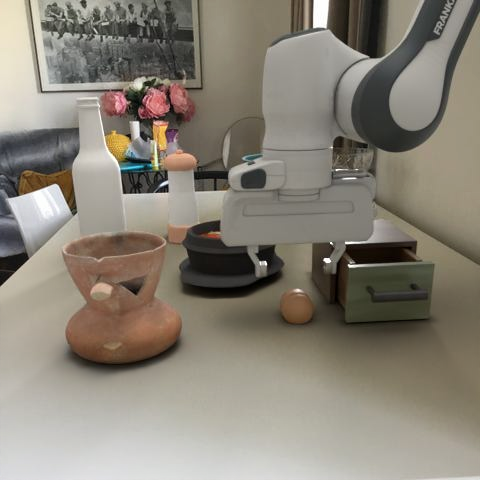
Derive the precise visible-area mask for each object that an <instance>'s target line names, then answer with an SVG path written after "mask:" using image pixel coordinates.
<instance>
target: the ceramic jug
mask: <svg viewBox="0 0 480 480" xmlns="http://www.w3.org/2000/svg"><path fill="white" fill-rule="evenodd" d="M166 253H167V240H166V239H165V238H164V237H163V236H161V235H158V234H155V233H151V232H148V231H141V230H137V231H136V230H127V231H115V232H107V233H105V232H102V233H97V234H93V235H87V236H83V237H81V236H80V237H78V238H75V239H71V240H70V241H68V242H66V243H65V244H64V245H63V246H61V254H62V258H63V261H64V265H65V267H66V269H67V271H68V273H69V276H70V278H71V280H72V281H73V283H74V285H75V286H76V288H77V290H78V291H79V292H80V295H81V297H83V298H84V300H85V302H86V303H85V304H84V305H83V306H82V307H81V308H80V309H78V310H77V311H75V313H74V314H73V315H72V316H71V317H70V318H69V320H68V321H67V324H66V327H65V334H64V336H65V340H66V342H67V344H68V345H69V347H70V348H71V350H72V351H73V352H74V353H75V354H76V355H77V356H79V357H81V358H83V359H84V360H88V361H90V362H95V363H101V364H106V365H107V364H108V365H123V364H131V363H135V362H141V361H145V360H147V359H150V358H153V357H156V356H157V355H159V354H162V353H164V352H165V351H166V350H168V349H169V348H171V347H172V346H173V345H174V344H175V343H176V342H177V340H178V339H179V337H180V335H181V332H182V326H183V322H182V318H181V315H180V313H179V312H178V311H177V310H176V309H175V308H174V306H172V305H171V304H169V303H167V302H166V301H164V300H162V299H160V298H158V297H156V296H155V294H156V292H157V288H158V287H159V283H160V280H161V277H162V276H161V275H162V272H163V268H164V264H165V260H166Z"/></svg>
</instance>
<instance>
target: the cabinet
mask: <svg viewBox="0 0 480 480" xmlns="http://www.w3.org/2000/svg"><path fill="white" fill-rule="evenodd" d="M373 222H374V228H373V234H372V236H371V237H370V238H369V239H368V240H367V241H359V242H346V249H366V248H387V247H406V248H408V249H409V250H410V251H411V252H413V253H414V254H415V255H417V252H418V251H417V250H418V240H417V239H416V238H415V237H413V236H411V235H410V234H408V233H407V232H405V231H404V230H403V229H401V228H399V227H398V226H397V225H396V224H395V223H392V222H391V221H390V220H388V219H373ZM311 244H312V245H311V278H312V280H313V282H314V283H315V285H316V287H317V289H318V290H319V292H320V294H321V295H323V296H325V298H326V300H327V302H328V303H329V304H341V302H340V301H339V299H338V298H337V296H336V295H335V280H336V274H325V273H324V272H323V266H324V264H323V259H329V258H330V256H331V254H332V253H333V251H334V249H335V248H334V247H333V246H332V243H311Z"/></svg>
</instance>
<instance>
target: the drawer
mask: <svg viewBox="0 0 480 480" xmlns="http://www.w3.org/2000/svg"><path fill="white" fill-rule="evenodd" d="M435 266H436V263H435V262H434V261H432V260H425V261H423V259H422V258H420V257H419V256H418V255H417V254H416V255H415V254H414V253H413V252H411V251H410V250H409V249H408V248H406V247H387V248H366V249H345V251H344V253H343V254H342V256H341V257H340V259H339V260H338V262H337V265H336V280H335V295H336V296H337V298H338V299H339V301H340V302H341V303H340V305H341V306H342V307H343V309H344V321H345V322H346V323H366V322H384V321H386V322H387V321H404V320H405V321H406V320H422V319H424V320H425V319H430V315H431V314H430V313H431V306H432V305H431V304H432V303H431V302H432V296H433V295H432V294H433V285H434V277H435Z"/></svg>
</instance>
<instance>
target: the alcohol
mask: <svg viewBox="0 0 480 480" xmlns="http://www.w3.org/2000/svg"><path fill="white" fill-rule="evenodd" d="M75 101H76V104H77V105H76V109H77V113H78V114H77V116H78V133H79V135H78V136H79V151H78V154H76V157H75V158H74V160H73V163H72V167H71V176H72V184H73V190H74V197H75V204H76V212H77V213H76V214H77V220H78V227H79V234H80V237H83V236H87V235H93V234H97V233H102V232H105V233H107V232H115V231H128V230H127V229H128V228H127V220H126V219H127V217H126V210H125V201H124V191H123V182H122V174H121V173H122V172H121V167H120V165H119V161H118V159H117V158H116V157H115V156H114V155H113V154H112V153H111V152H110V150H109V148H108V146H107V142H106V137H105V131H104V127H103V121H102V117H101V111H100V107H101V105H100V103H99V101H100V98H99V97H98V96H86V97H85V96H84V97H76V99H75Z"/></svg>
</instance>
